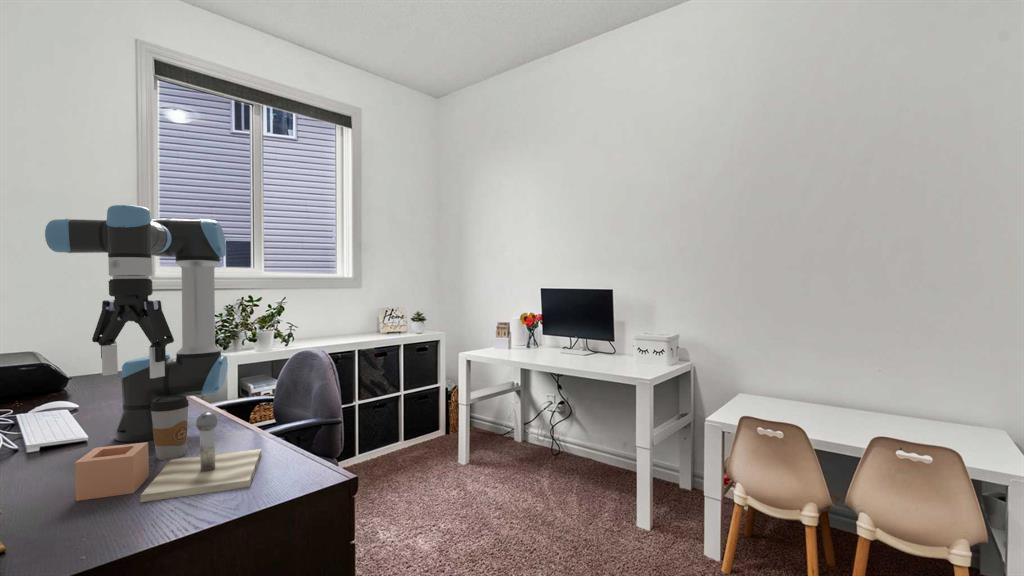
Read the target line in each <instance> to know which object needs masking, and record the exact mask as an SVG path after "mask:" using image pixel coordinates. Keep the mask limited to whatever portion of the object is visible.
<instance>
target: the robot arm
mask: <svg viewBox="0 0 1024 576" xmlns="http://www.w3.org/2000/svg"><path fill="white" fill-rule="evenodd" d="M44 238H45V242H46V244H47V246H48V248H49V249H50V250H51V251H52V252H55V253H65V254H66V253H67V254H88V253H89V254H92V253H94V254H95V253H97V254H98V253H99V254H100V253H103V254H104V253H105V254H106V253H107V257H108V276H109V277H112V279H109V280H108V295H109V296H110V297H114V299H110V300H109V299H108V300H102V302H101V303H102V304H101V312H100V315H99V318H98V321H97V324H96V325H95V326H96V327H95V329H94V333H93V335H92V342H93V343H97V344H98V345H99V346H100V355H101V356H100V358H101V368H102V369H101V372H102V376H103V377H106V376H112V375H118V374H119V369H118V368H119V367H118V366H119V365H118V364H119V363H118V344H117V341H116V339H117V338H118V337H119V335H120V334H121V331H122V330H123V329H124V327H125V325H126V323H128V322H134V323H136V324H138V326H139V327H140V329H141V330H142V332H143V333H144V334H145V337H147V340H148V341H149V342H150V346H149V347H148V350H149V351H148V353H149V356H142V357H139V358H133V359H130V360H127V361H126V362H124V363H123V364H122V366H121V377H120V380H121V398H122V399H121V403H122V413H121V416H120V418H119V421H118V424H117V426H116V429H115V440H116V441H117V442H122V443H123V442H125V443H129V442H130V443H133V442H143V441H144V442H145V441H150V440H154V435H153V423H152V413H151V410H150V409H151V404H152V401H153V400H154V399H157V398H161V397H167V396H178V395H180V396H186V397H195V396H202V397H204V396H206V395H207V396H208V395H215V394H218V393H219V392H221V391H222V389H223V387H224V385H225V383H226V378H227V373H228V358H227V356H226V355H223V354H222V350H221V349H220V348H219V347H218V346H217V345H216V314H215V313H216V312H215V311H216V310H215V308H216V306H215V269H216V268H217V266H219V265H220V264H221V261H220V260H221V259H220V258H223V257H225V256H226V255H227V245H226V238H225V234H224V231H223V227H222V225H221V223H219V222H218V221H216V220H214V219H206V218H161V217H160V218H152V217H151V212H150V210H149V208H148V207H145V206H140V205H139V206H138V205H133V204H132V205H130V204H115V205H111V206H109V207H108V208H107V210H106V219H70V218H65V219H63V218H61V219H57V218H56V219H52V220H50V221H48V223H47V225H46V226H45V230H44ZM152 256H156V257H165V258H166V257H168V258H175V264H177V265H178V266H179V267H180V269H181V326H182V327H181V333H182V334H181V336H182V337H181V339H182V342H181V345H182V346H181V348H180V349H179V350H177V351H176V353H175V354H176V355H175V358H171V356H170V354H169V353H166V350H167V349H166V347H167V345H169V344H173V343H174V342H175V339H174V336H173V334H172V332H171V329H170V327H169V323H168V322H167V320H166V317H165V315H164V311H163V306H162V301H161V300H160V299H149V296H152V295H153V280H152V279H151V278H150V277H151V276H153V257H152Z"/></svg>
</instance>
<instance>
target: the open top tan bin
mask: <svg viewBox="0 0 1024 576" xmlns="http://www.w3.org/2000/svg"><path fill="white" fill-rule="evenodd" d="M74 475H75V476H74V479H75V480H74V482H75V501H76V502H78V501H84V500H90V499H91V500H92V499H101V498H107V497H114V496H121V495H129V494H131V495H132V494H135V492H137V490H138V489H139V488H140V487H141V486H142V485H143V484H144V483H145V482H146V481H147V480H148V478H149V476H150V462H149V442H148V441H146V442H145V441H144V442H139V443H137V442H136V443H129V444H118V445H117V444H116V445H108V446H99V447H94V448H93V449H91V451H89V452H88V453H86V454H85V455H84V456H82V457H81V458H79V459H77V460H76V461H75V462H74Z"/></svg>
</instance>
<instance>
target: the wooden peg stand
mask: <svg viewBox="0 0 1024 576" xmlns="http://www.w3.org/2000/svg"><path fill="white" fill-rule="evenodd" d="M218 423H219V419H218V416H217V415H216V414H215V413H214V412H210V411H209V412H204V413H201V414H200V415H199V416H198V417H197V418H196V419H195V426H196V428H197V429H198V431H199V455H197V456H189V457H178V458H175V459H170V460H169V462H168V463H167V464H166V465H165V466H164V467H163V469H161V471H160V472H159V473H158V474H157V475H156V477H155V478H154V479H153V480H152V481H151V482H150V483H149V485H148V486H147V487H146V488H145V490H144V491H143V492H142V493H141V494H140V503H145V502H151V501H159V500H165V499H171V498H173V499H174V498H178V497H179V498H180V497H186V496H194V495H200V494H201V495H202V494H208V493H216V492H222V491H230V490H237V489H243V488H250V487H251V486H252V485H251V484H252V482H253V479H254V476H255V473H256V471H257V468H258V465H259V462H260V460H261V458H262V455H261V454H262V448H257V449H249V450H241V451H240V450H239V451H231V452H222V453H216V432H215V431H216V428H217V426H218Z"/></svg>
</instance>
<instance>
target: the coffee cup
mask: <svg viewBox="0 0 1024 576" xmlns="http://www.w3.org/2000/svg"><path fill="white" fill-rule="evenodd" d="M189 405H190V404H189V399H188V397H187V396H180V395H178V396H167V397H161V398H157V399H154V400H153V401H152V404H151V409H150V410H151V413H152V423H153V435H154V439H153V441H154V442H153V443H154V445H153V446H154V447H155V448H154V450H155V457H156V458H157V460H160V461H170V460H171V459H179V458H182V457H183V456H184V455H185V453H186V452H187V451H186V450H187V439H188V425H189V424H188V423H189V422H188V417H189V416H188V414H189Z"/></svg>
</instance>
